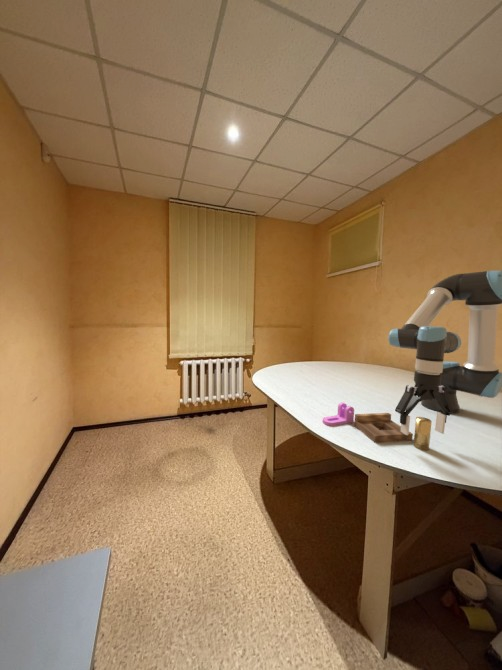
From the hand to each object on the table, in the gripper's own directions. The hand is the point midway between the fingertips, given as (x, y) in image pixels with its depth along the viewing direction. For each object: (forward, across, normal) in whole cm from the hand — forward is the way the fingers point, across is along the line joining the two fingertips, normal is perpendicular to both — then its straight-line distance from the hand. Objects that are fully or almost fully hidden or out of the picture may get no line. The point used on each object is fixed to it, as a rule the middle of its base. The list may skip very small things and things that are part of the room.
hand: (422, 432), depth 85 cm
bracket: (+6, +20, -22) cm, 30 cm away
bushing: (+5, 0, 0) cm, 5 cm away
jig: (+5, +7, -11) cm, 14 cm away
